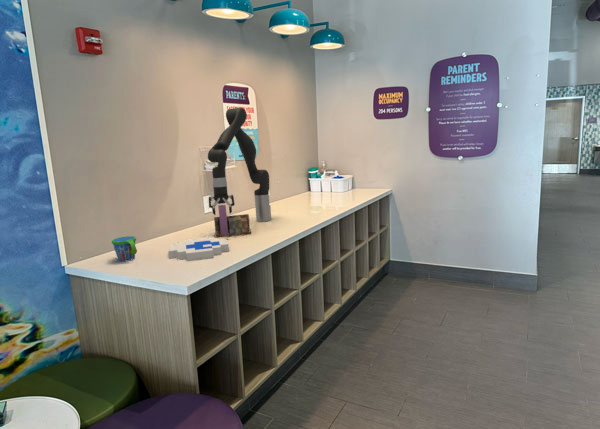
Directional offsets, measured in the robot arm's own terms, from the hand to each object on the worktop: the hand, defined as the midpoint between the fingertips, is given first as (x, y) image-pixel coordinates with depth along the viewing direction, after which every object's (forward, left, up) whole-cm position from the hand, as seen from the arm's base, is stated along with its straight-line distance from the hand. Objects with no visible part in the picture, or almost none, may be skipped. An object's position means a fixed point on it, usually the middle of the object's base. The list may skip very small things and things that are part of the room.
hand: (222, 214), depth 238 cm
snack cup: (+56, -11, -12) cm, 58 cm away
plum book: (0, 0, -11) cm, 11 cm away
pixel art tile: (+32, +13, -13) cm, 37 cm away
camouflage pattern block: (-4, +3, -12) cm, 13 cm away
